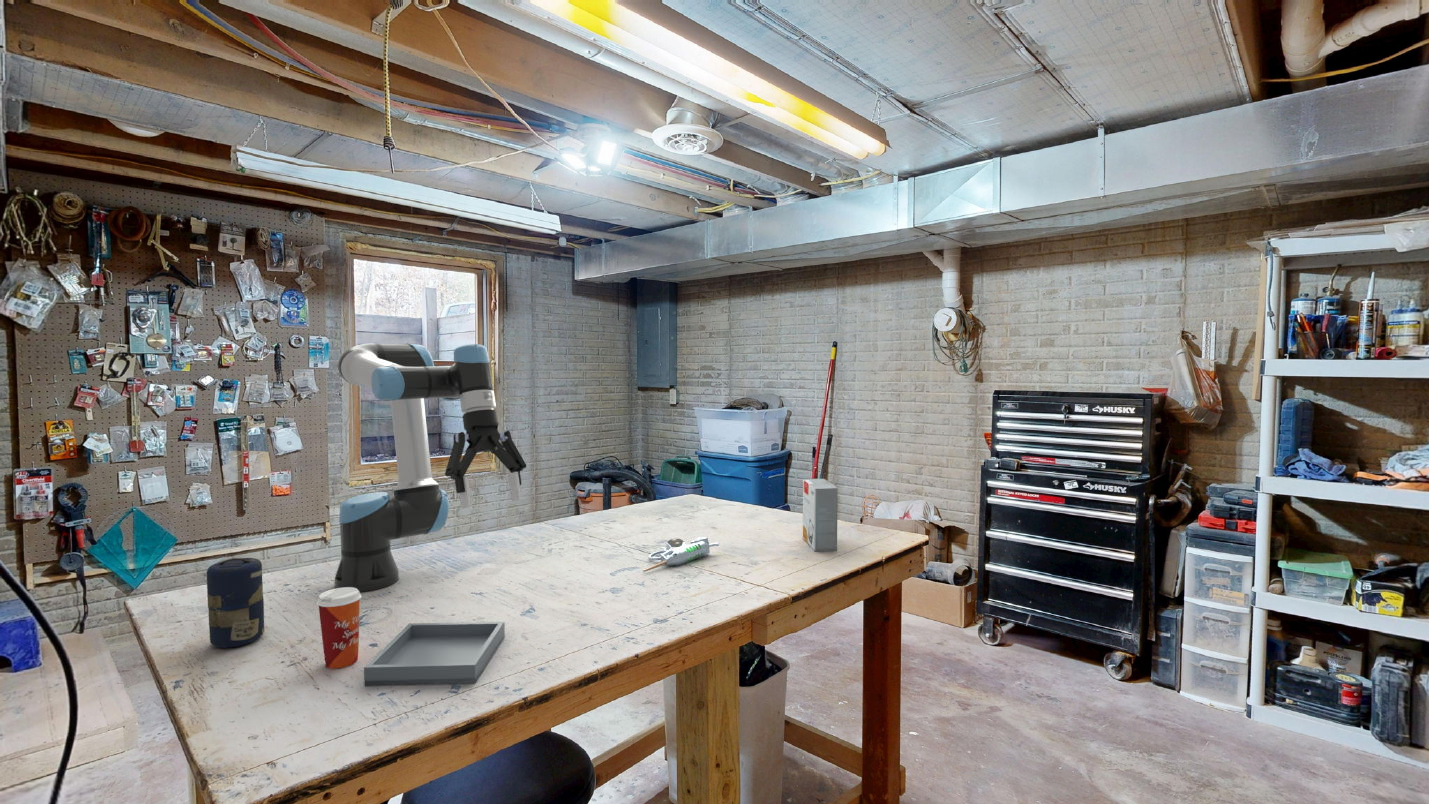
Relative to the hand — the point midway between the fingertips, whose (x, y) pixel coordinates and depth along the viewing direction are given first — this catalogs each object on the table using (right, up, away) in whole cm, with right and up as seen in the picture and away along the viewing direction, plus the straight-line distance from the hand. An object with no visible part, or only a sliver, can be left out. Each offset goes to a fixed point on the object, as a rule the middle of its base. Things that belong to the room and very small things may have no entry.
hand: (492, 504), depth 148 cm
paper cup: (-24, -29, -18) cm, 41 cm away
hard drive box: (+83, -23, +64) cm, 108 cm away
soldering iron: (+36, -25, +49) cm, 66 cm away
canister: (-51, -28, -8) cm, 59 cm away
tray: (-5, -28, -17) cm, 33 cm away
